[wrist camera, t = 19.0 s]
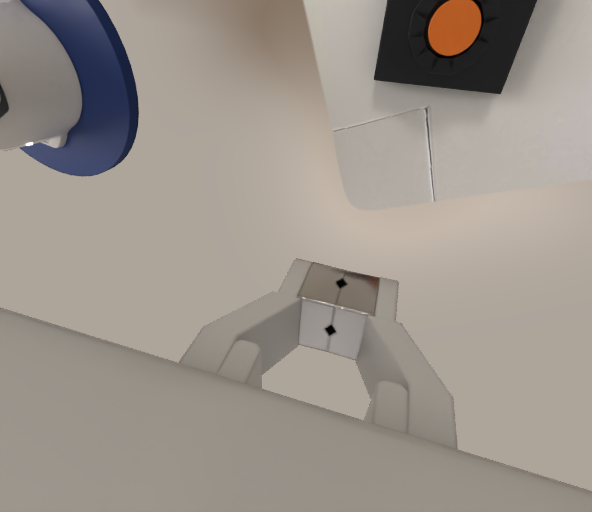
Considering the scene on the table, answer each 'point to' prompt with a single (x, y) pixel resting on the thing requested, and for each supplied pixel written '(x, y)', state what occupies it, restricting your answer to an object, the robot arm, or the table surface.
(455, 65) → the control block
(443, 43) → the button
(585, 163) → the table surface
